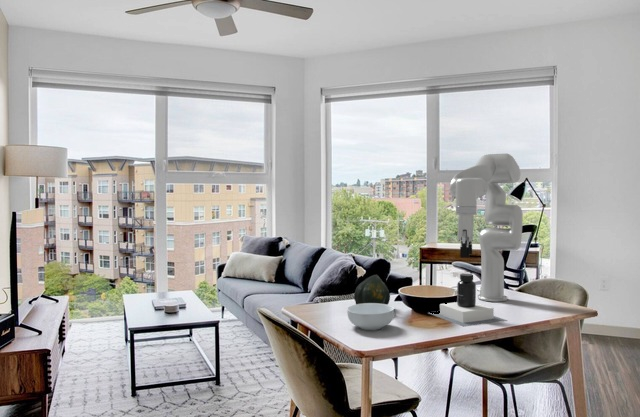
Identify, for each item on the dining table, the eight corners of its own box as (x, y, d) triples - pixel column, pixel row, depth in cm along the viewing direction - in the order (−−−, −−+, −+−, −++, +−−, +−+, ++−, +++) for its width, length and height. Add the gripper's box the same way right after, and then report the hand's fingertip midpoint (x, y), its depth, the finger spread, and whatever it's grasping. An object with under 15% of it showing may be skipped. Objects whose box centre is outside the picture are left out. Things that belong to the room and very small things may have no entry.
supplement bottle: (455, 306, 193) (455, 275, 193) (459, 303, 199) (459, 272, 199) (473, 308, 190) (473, 276, 190) (477, 304, 196) (477, 273, 196)
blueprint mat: (427, 314, 201) (427, 312, 201) (468, 309, 209) (468, 307, 209) (463, 328, 181) (463, 326, 181) (507, 321, 188) (507, 320, 188)
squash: (349, 301, 201) (374, 272, 202) (346, 294, 216) (369, 268, 217) (376, 324, 202) (401, 295, 202) (371, 316, 217) (394, 289, 217)
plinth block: (439, 314, 198) (439, 304, 198) (469, 310, 204) (469, 300, 204) (463, 322, 185) (463, 311, 185) (493, 318, 191) (493, 308, 191)
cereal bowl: (365, 318, 195) (365, 300, 195) (403, 326, 184) (403, 306, 184) (337, 328, 182) (337, 308, 182) (377, 336, 171) (376, 316, 171)
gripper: (458, 209, 202) (459, 252, 203) (452, 212, 186) (453, 258, 187) (478, 209, 200) (478, 253, 200) (474, 212, 184) (474, 259, 184)
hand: (466, 255), depth 194 cm, fingers open, 9 cm apart
